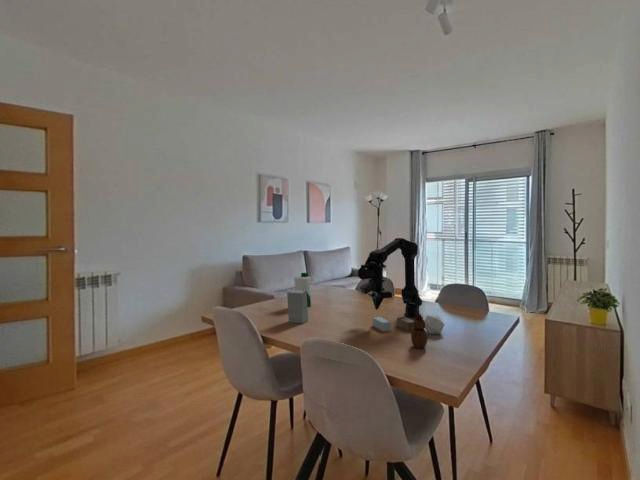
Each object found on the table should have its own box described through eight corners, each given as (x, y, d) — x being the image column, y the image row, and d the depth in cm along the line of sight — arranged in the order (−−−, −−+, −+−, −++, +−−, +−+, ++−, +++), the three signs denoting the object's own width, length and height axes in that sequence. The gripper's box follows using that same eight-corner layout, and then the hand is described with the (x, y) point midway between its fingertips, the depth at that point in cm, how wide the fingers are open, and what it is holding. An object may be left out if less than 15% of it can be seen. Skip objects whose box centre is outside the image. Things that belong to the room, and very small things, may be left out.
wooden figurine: (409, 344, 141) (409, 308, 140) (422, 343, 141) (423, 307, 141) (415, 350, 134) (415, 312, 134) (429, 349, 135) (429, 312, 134)
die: (440, 339, 149) (450, 319, 152) (423, 328, 150) (432, 309, 153) (434, 339, 157) (443, 321, 159) (417, 329, 158) (426, 311, 161)
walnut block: (403, 316, 168) (415, 321, 159) (403, 324, 168) (415, 330, 159) (396, 317, 167) (408, 322, 158) (396, 325, 167) (408, 331, 158)
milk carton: (312, 306, 206) (312, 273, 205) (303, 309, 199) (303, 275, 198) (301, 304, 211) (301, 272, 210) (292, 307, 204) (291, 273, 203)
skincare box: (308, 320, 175) (308, 290, 175) (301, 324, 169) (301, 292, 168) (293, 319, 179) (293, 289, 178) (287, 322, 172) (286, 291, 172)
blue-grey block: (379, 316, 168) (390, 322, 159) (379, 324, 168) (390, 330, 159) (372, 317, 166) (383, 322, 158) (372, 325, 167) (383, 331, 158)
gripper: (353, 275, 172) (353, 306, 172) (371, 281, 154) (371, 315, 155) (372, 274, 176) (372, 304, 176) (392, 279, 158) (392, 313, 159)
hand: (376, 309), depth 167 cm, fingers closed
